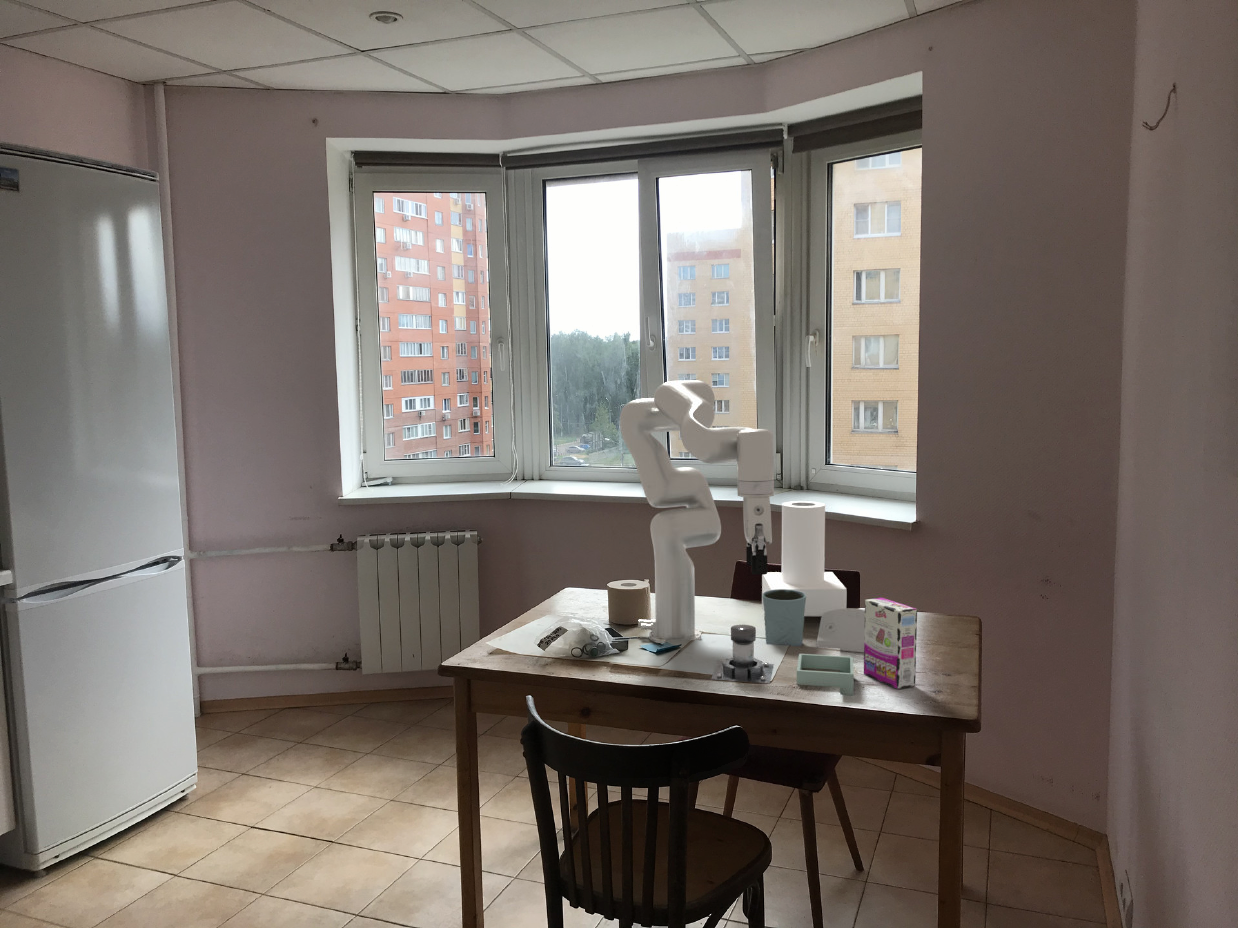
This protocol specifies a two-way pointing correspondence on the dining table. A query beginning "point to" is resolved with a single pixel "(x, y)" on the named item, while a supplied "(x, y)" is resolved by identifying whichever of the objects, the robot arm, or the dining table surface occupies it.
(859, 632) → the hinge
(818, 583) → the paper towel holder
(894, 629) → the candy bar box
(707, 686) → the dining table surface
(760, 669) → the stud mount
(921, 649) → the dining table surface
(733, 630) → the clear and grey cylinder
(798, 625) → the teal cup
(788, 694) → the dining table surface
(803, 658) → the parts bin
